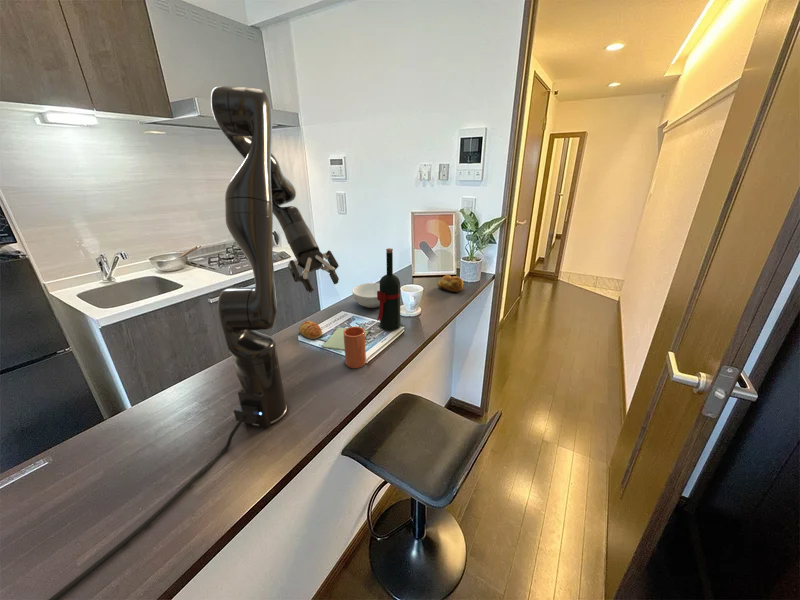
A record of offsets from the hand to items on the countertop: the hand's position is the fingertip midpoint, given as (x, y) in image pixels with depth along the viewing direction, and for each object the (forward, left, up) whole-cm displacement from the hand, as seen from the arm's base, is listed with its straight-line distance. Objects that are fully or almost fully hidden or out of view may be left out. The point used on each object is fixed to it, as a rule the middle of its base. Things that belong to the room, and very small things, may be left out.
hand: (324, 287), depth 97 cm
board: (+10, -2, -23) cm, 25 cm away
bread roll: (+67, -34, -23) cm, 79 cm away
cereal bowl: (+41, -2, -23) cm, 47 cm away
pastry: (+11, +12, -23) cm, 29 cm away
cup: (-3, -10, -23) cm, 25 cm away
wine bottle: (+22, -14, -23) cm, 35 cm away
